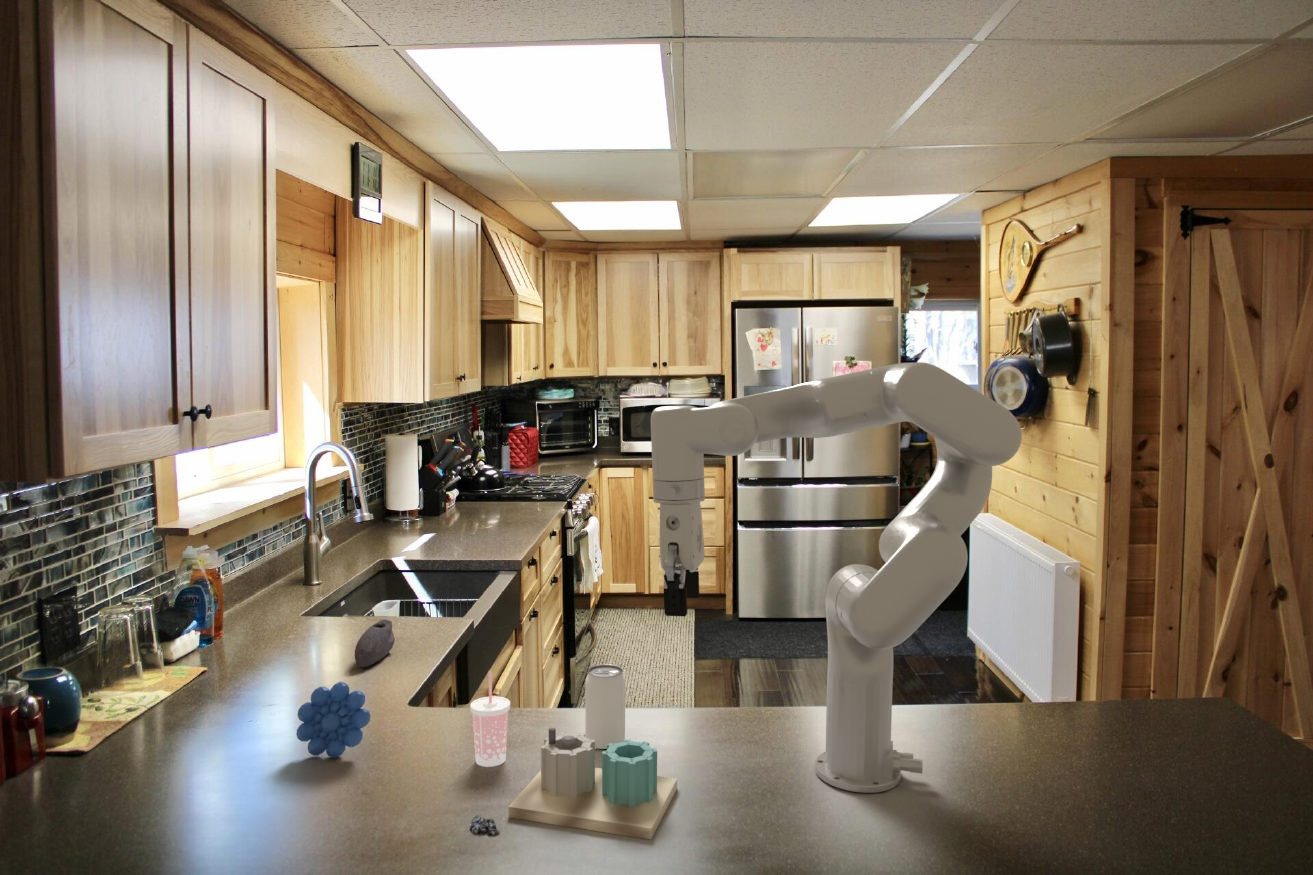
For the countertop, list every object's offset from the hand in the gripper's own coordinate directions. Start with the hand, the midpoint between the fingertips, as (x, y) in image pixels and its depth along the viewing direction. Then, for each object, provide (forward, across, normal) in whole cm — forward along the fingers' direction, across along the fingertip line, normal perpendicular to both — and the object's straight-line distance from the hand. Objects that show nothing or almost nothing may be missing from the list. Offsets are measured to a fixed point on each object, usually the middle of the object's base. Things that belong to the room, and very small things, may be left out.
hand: (682, 605), depth 125 cm
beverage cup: (+25, -2, +31) cm, 40 cm away
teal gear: (+24, -10, +6) cm, 27 cm away
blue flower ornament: (+24, -6, +55) cm, 60 cm away
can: (+26, +8, +15) cm, 31 cm away
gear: (+24, -10, +16) cm, 30 cm away
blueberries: (+25, -20, +23) cm, 40 cm away
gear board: (+25, -11, +11) cm, 30 cm away
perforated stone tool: (+24, +35, +73) cm, 85 cm away
